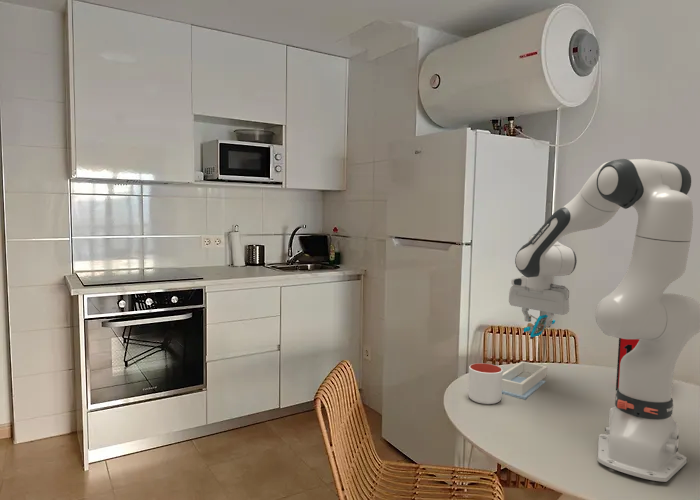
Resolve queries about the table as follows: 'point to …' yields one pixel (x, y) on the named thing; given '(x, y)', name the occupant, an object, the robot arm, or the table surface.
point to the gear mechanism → (537, 326)
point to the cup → (485, 383)
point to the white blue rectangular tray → (523, 380)
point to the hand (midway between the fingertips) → (536, 323)
